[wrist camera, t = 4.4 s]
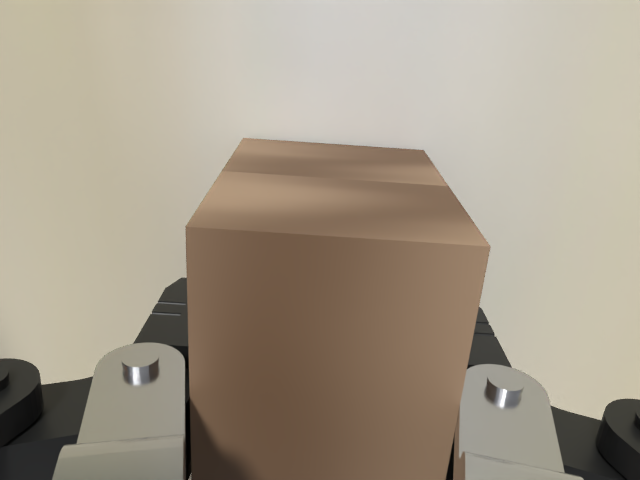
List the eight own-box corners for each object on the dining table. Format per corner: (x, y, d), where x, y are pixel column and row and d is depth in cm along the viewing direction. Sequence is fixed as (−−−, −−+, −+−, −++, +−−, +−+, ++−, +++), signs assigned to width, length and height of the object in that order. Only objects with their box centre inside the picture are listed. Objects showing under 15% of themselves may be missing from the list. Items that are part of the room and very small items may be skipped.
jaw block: (423, 150, 11) (489, 246, 7) (385, 431, 14) (415, 639, 9) (243, 138, 11) (186, 226, 7) (238, 421, 14) (194, 627, 9)
